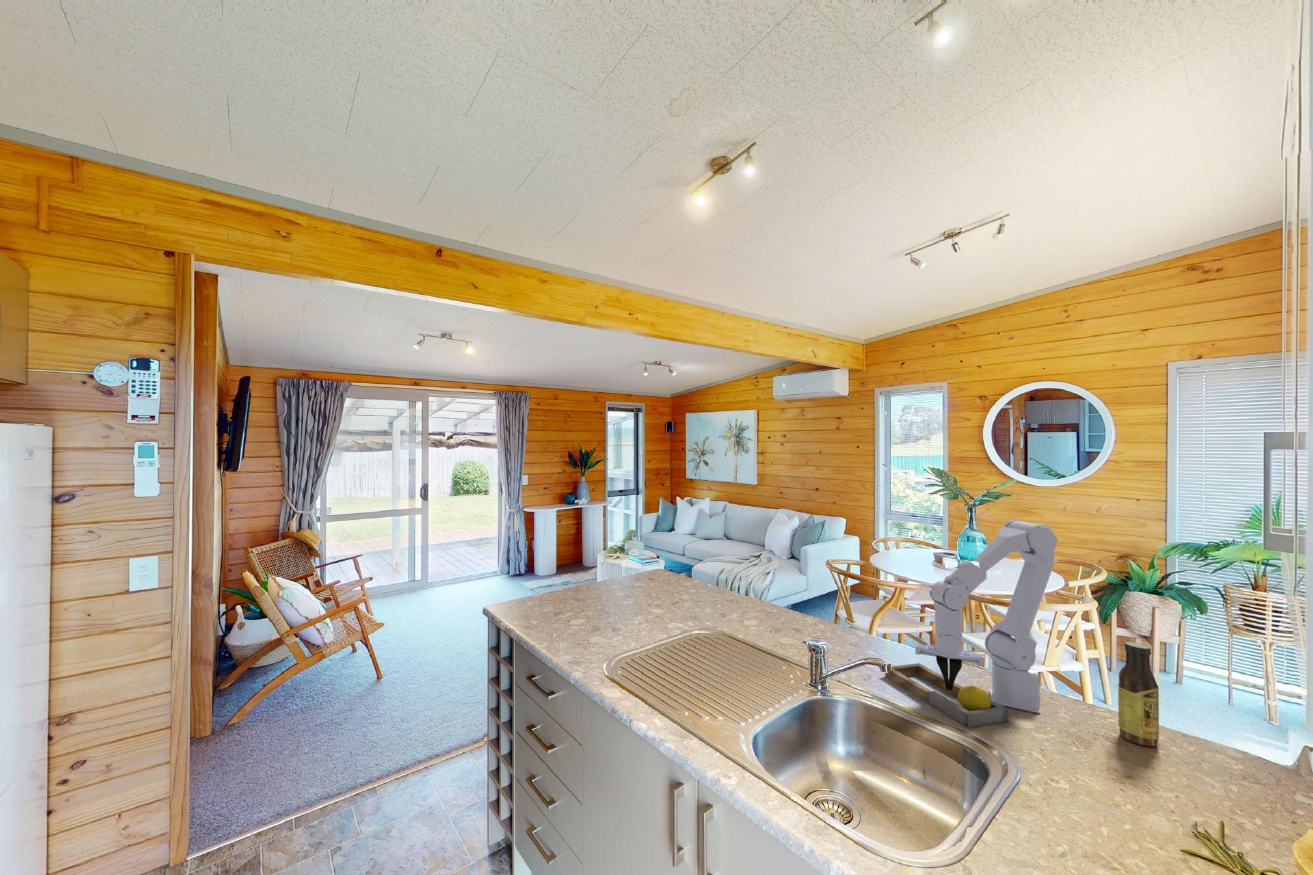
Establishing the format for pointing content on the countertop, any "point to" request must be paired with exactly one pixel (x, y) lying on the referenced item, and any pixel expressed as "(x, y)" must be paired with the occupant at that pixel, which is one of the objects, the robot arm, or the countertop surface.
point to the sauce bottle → (1138, 697)
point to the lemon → (974, 698)
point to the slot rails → (901, 678)
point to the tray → (966, 717)
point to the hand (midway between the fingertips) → (948, 688)
